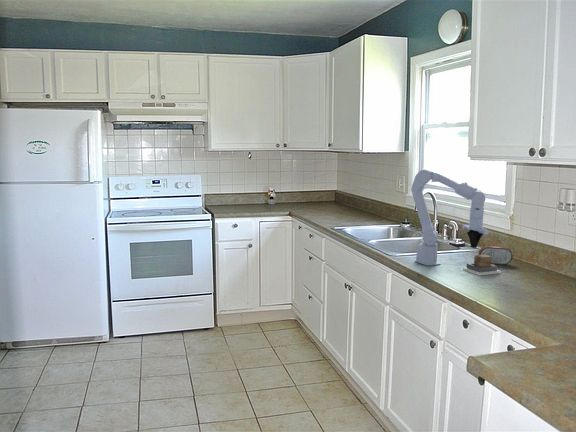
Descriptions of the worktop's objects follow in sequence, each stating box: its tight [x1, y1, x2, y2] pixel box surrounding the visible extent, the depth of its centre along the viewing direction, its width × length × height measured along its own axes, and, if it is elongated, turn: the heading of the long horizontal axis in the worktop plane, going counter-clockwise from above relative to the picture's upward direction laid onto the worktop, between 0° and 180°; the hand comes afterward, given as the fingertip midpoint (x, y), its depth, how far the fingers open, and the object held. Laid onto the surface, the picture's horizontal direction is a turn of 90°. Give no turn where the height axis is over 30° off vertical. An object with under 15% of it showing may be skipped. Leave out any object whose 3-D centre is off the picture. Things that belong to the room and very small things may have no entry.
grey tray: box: [462, 262, 501, 276], centre depth 238 cm, size 10×12×3 cm
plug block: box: [473, 254, 492, 267], centre depth 237 cm, size 4×6×6 cm, turn 115°
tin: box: [478, 245, 514, 266], centre depth 252 cm, size 15×3×8 cm, turn 80°
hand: (473, 247), depth 243 cm, fingers closed
